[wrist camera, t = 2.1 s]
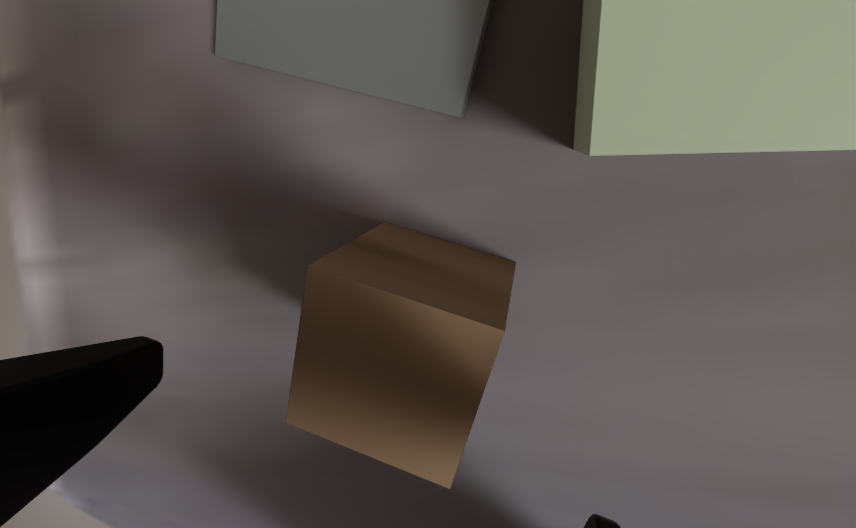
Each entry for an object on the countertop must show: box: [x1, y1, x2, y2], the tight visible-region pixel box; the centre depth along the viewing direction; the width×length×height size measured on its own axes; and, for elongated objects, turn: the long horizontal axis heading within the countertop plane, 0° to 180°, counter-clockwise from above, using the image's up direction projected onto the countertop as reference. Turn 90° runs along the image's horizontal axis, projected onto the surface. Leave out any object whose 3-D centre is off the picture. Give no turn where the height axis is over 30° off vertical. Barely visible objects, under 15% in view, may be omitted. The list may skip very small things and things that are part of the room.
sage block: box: [573, 0, 856, 156], centre depth 8 cm, size 5×5×4 cm
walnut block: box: [286, 222, 516, 489], centre depth 12 cm, size 4×4×5 cm
